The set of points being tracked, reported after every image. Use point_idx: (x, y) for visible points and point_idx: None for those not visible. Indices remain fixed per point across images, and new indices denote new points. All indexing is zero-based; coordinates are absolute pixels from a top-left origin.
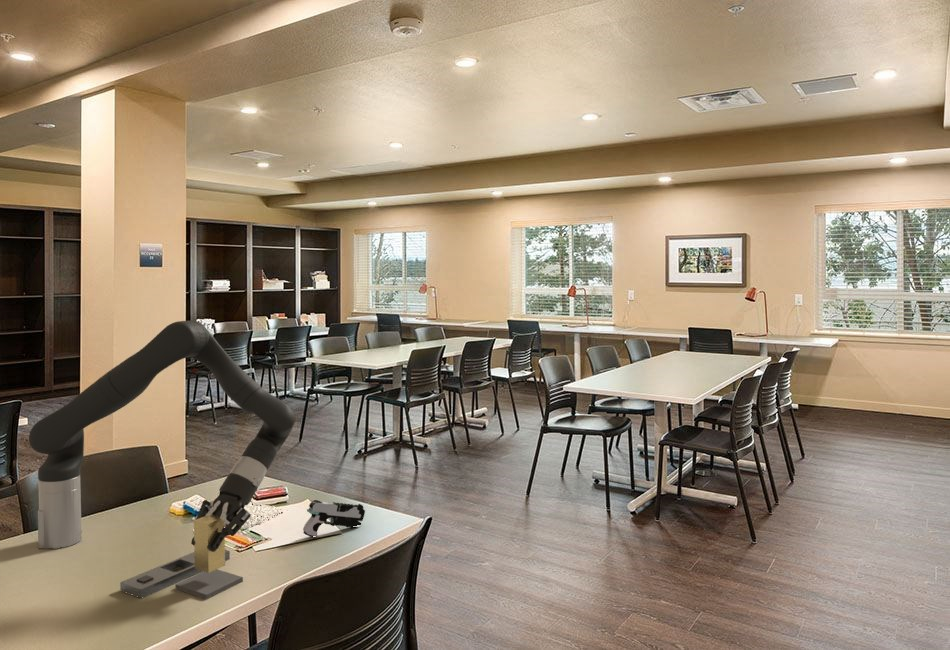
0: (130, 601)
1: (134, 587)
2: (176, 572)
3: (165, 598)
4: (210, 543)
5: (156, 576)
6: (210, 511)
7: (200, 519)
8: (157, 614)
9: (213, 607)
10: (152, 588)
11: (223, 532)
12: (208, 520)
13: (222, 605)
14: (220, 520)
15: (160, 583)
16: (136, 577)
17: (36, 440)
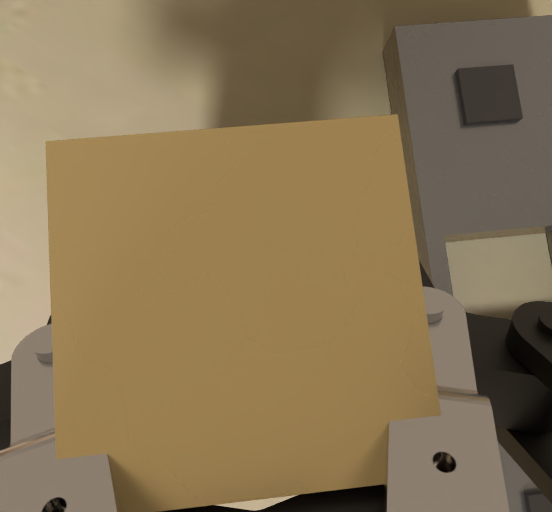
0: (394, 14)
1: (443, 23)
2: (444, 239)
3: (297, 113)
4: None
5: (479, 150)
6: (467, 494)
7: (343, 200)
8: (186, 12)
9: (29, 185)
10: (396, 95)
11: (9, 364)
12: (188, 253)
13: (8, 221)
14: (68, 422)
15: (406, 136)
16: (545, 86)
17: None
